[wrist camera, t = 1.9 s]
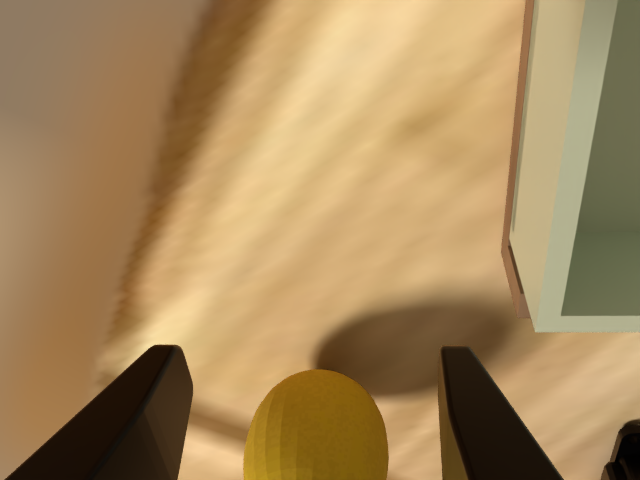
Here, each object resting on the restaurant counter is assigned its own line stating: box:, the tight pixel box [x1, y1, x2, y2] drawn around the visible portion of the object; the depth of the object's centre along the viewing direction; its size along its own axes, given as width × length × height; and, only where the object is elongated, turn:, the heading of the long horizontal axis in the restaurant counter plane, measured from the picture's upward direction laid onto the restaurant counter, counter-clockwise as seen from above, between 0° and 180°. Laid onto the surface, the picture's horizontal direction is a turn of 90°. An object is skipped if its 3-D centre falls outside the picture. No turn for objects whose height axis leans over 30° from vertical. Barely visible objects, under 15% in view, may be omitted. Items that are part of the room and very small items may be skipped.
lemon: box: [243, 369, 389, 480], centre depth 24 cm, size 6×6×8 cm
